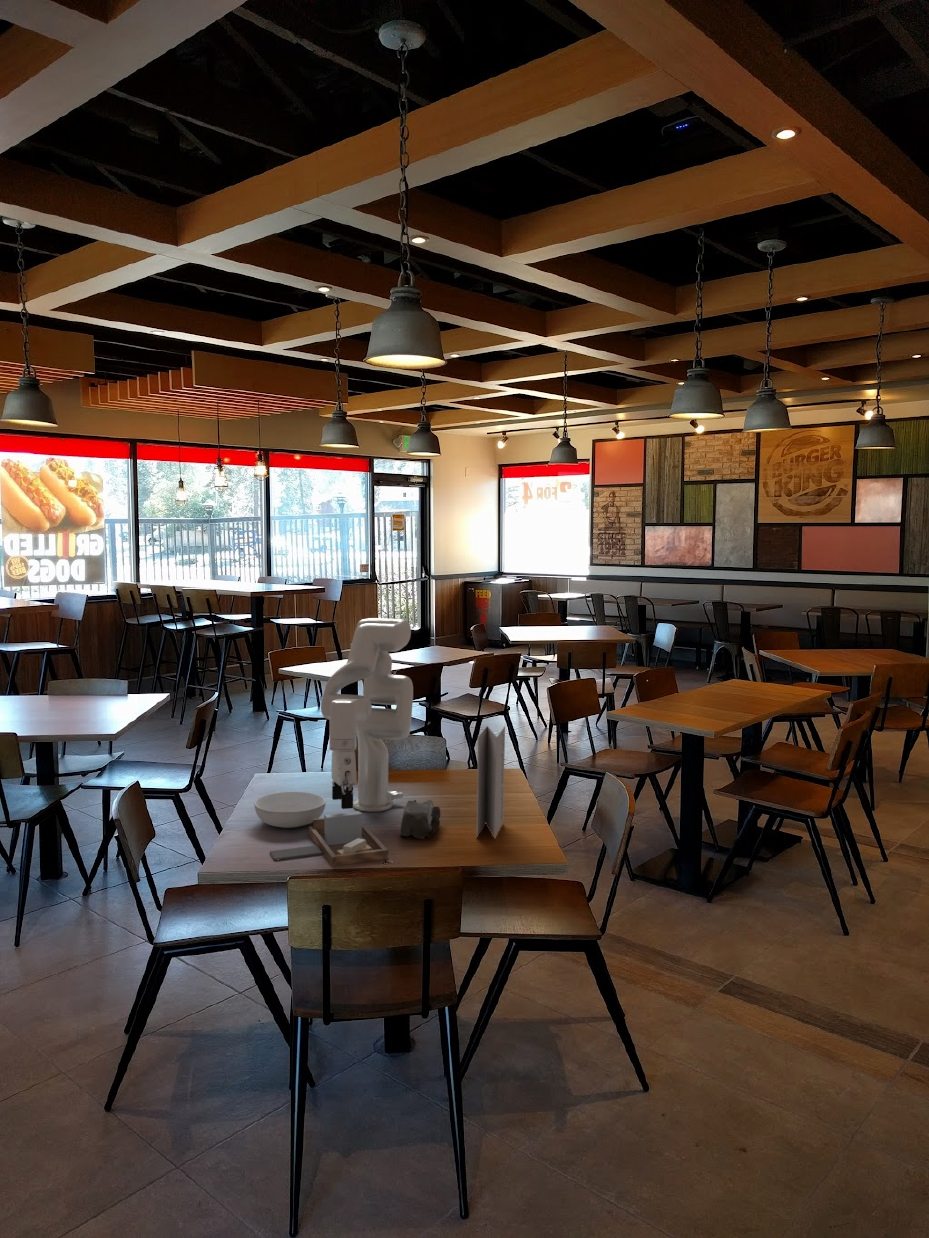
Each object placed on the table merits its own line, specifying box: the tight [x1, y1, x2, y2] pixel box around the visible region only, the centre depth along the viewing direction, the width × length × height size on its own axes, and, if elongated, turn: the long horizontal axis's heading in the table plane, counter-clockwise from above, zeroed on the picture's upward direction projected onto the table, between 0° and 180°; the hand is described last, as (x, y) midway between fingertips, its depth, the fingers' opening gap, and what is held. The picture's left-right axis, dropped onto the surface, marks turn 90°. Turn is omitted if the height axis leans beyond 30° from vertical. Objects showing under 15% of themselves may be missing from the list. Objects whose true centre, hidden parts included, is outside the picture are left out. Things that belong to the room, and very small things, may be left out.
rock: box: [399, 799, 441, 840], centre depth 265 cm, size 18×11×8 cm, turn 178°
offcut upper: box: [342, 838, 367, 853], centre depth 246 cm, size 7×3×2 cm, turn 152°
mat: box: [269, 844, 323, 861], centre depth 246 cm, size 13×6×1 cm, turn 113°
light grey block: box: [323, 810, 363, 846], centre depth 256 cm, size 10×3×8 cm, turn 113°
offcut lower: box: [336, 844, 373, 855], centre depth 246 cm, size 9×3×2 cm, turn 122°
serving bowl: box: [253, 791, 326, 829], centre depth 271 cm, size 21×21×7 cm
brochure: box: [475, 725, 506, 839], centre depth 265 cm, size 14×6×30 cm, turn 168°
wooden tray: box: [308, 817, 389, 867], centre depth 253 cm, size 15×26×4 cm, turn 23°
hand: (342, 803), depth 255 cm, fingers open, 9 cm apart
